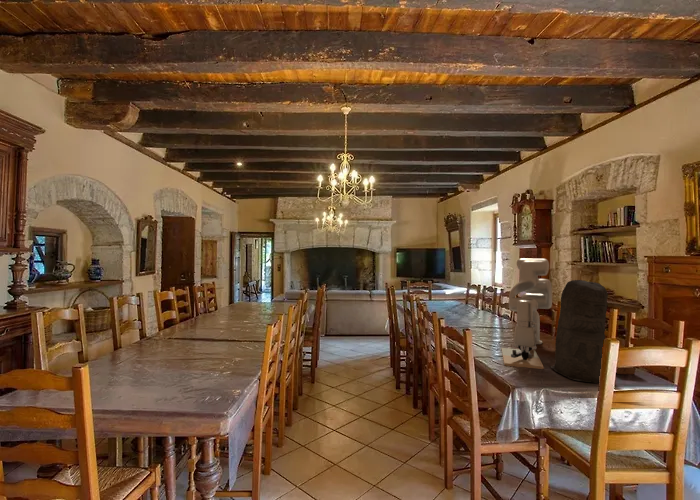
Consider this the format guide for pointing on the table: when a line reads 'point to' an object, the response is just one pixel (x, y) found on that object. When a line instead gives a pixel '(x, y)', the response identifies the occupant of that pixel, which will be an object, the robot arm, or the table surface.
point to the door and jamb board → (521, 359)
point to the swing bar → (516, 354)
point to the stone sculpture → (581, 331)
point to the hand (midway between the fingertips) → (525, 359)
